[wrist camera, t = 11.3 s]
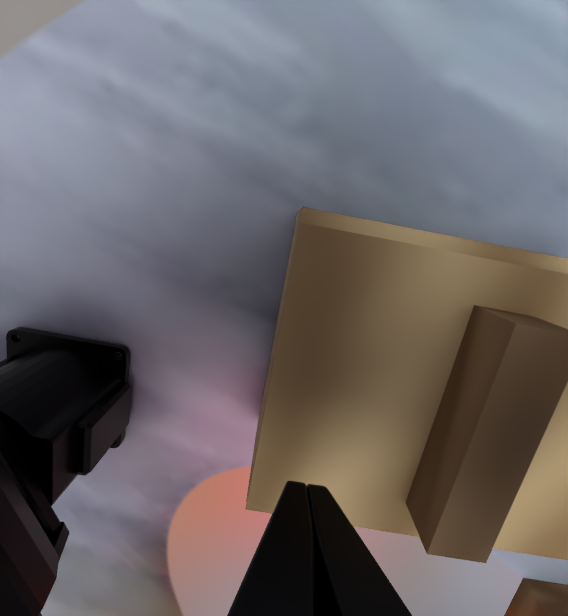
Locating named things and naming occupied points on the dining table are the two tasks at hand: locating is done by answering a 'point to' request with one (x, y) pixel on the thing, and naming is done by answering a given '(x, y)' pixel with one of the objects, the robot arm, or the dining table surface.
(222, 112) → the dining table surface
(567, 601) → the brown block
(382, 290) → the lid
